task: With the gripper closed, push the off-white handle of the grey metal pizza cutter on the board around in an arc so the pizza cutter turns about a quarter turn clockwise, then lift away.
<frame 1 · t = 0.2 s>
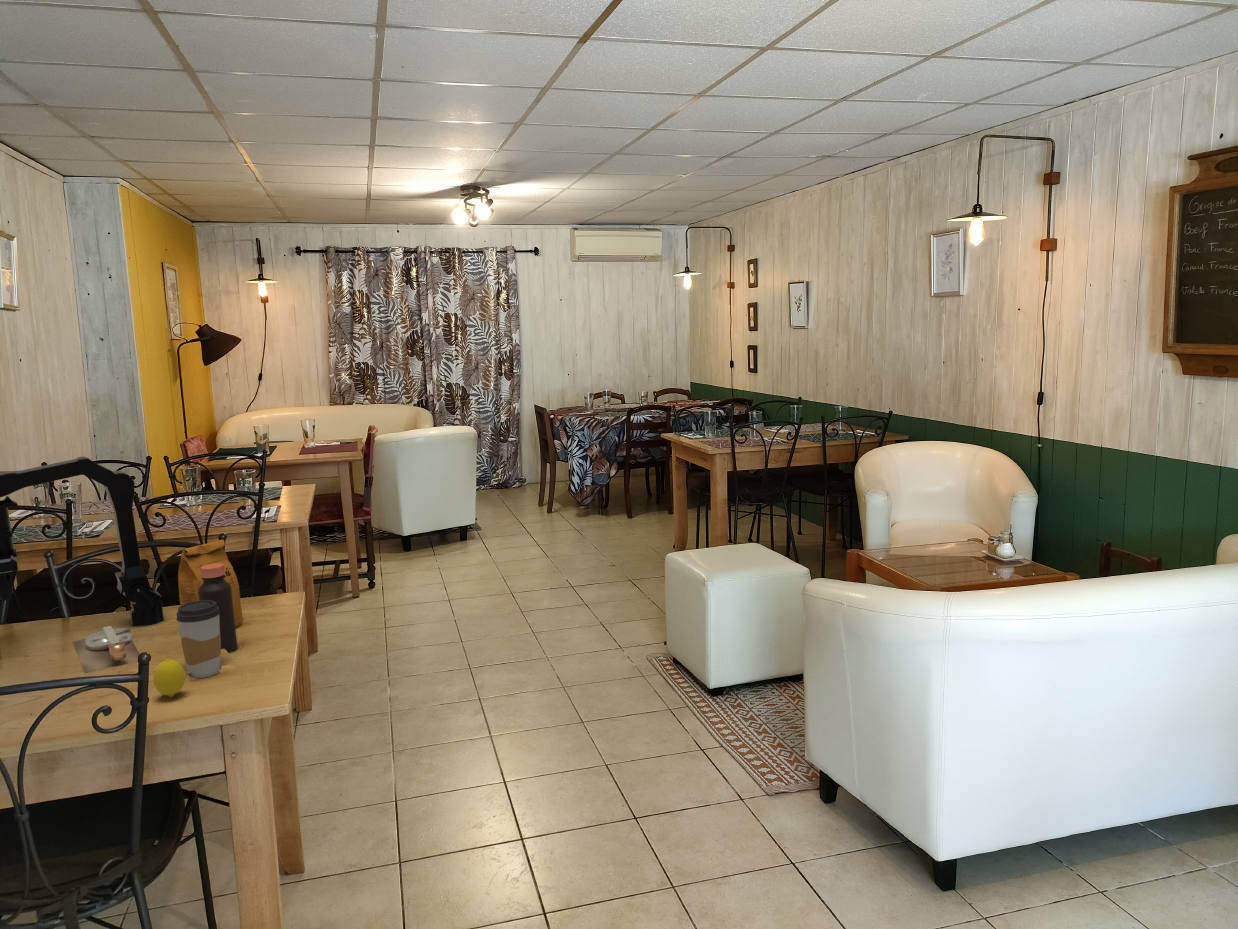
hand: (5, 595, 192), 14 cm above the table, tool pointing down, fingers open, 9 cm apart
mounting board: (107, 656, 192), on the table
coffee package: (214, 631, 208), on the table
coffee cup: (205, 673, 181), on the table
pizza cutter: (111, 642, 191), point 4 cm above the table, hinge at 0.0°
lemon: (171, 697, 169), on the table
bottle: (221, 651, 194), on the table
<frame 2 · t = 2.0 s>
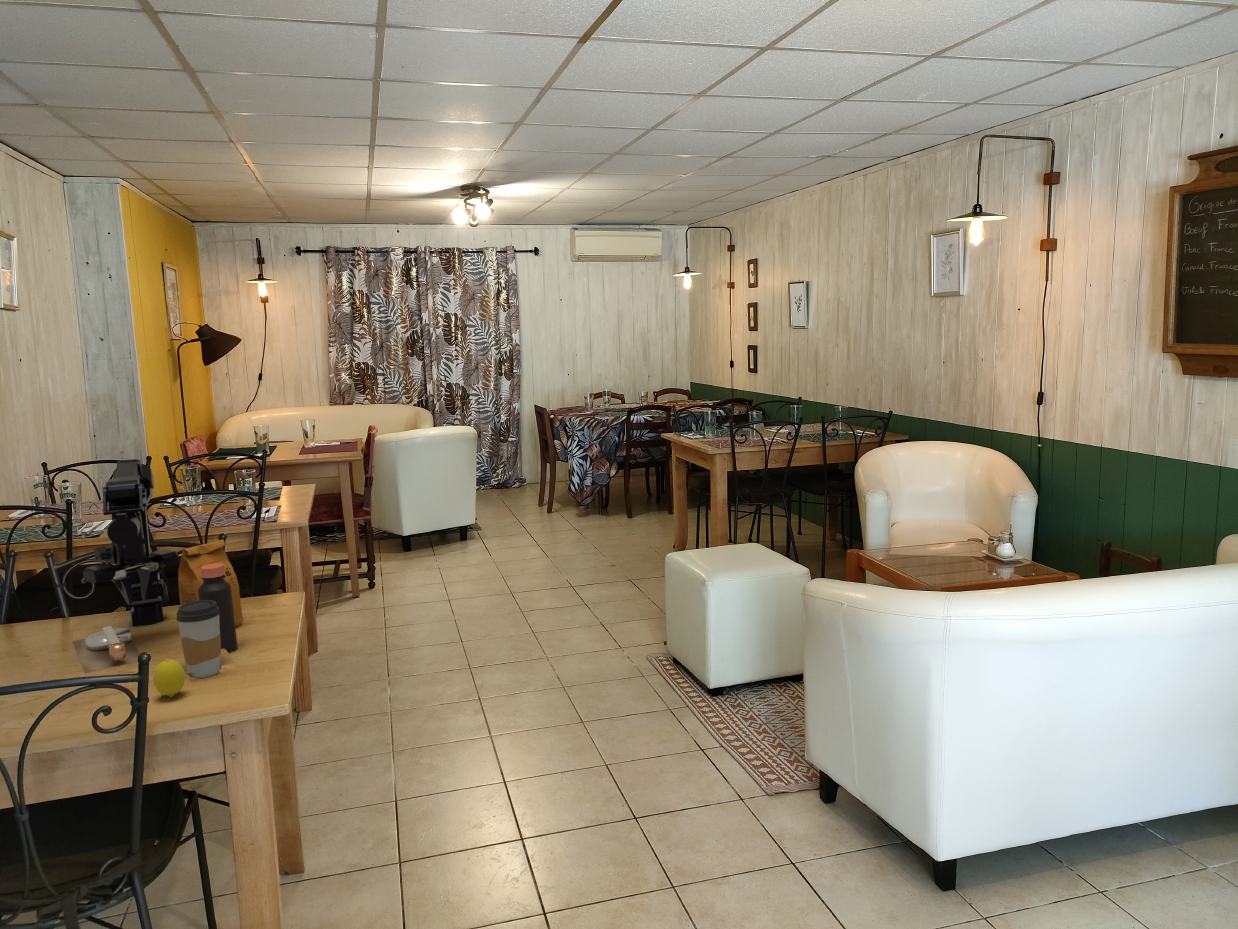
hand: (137, 602, 192), 12 cm above the table, tool pointing down, fingers open, 3 cm apart
nothing on the table moved.
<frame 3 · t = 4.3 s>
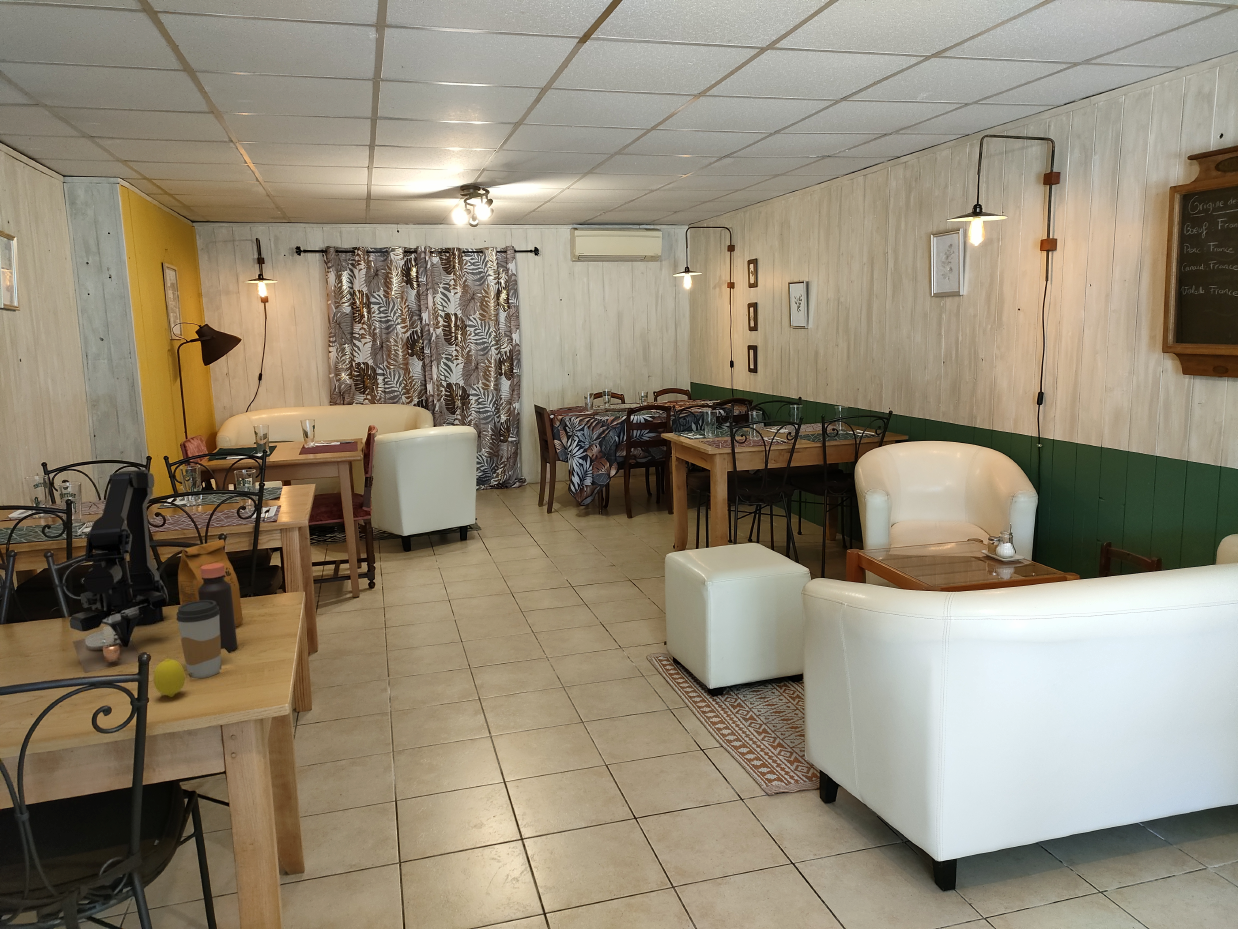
hand: (125, 646, 191), 3 cm above the table, tool pointing down, fingers closed
pizza cutter: (109, 642, 190), point 4 cm above the table, hinge at -4.2°, touching gripper
everything else where it was.
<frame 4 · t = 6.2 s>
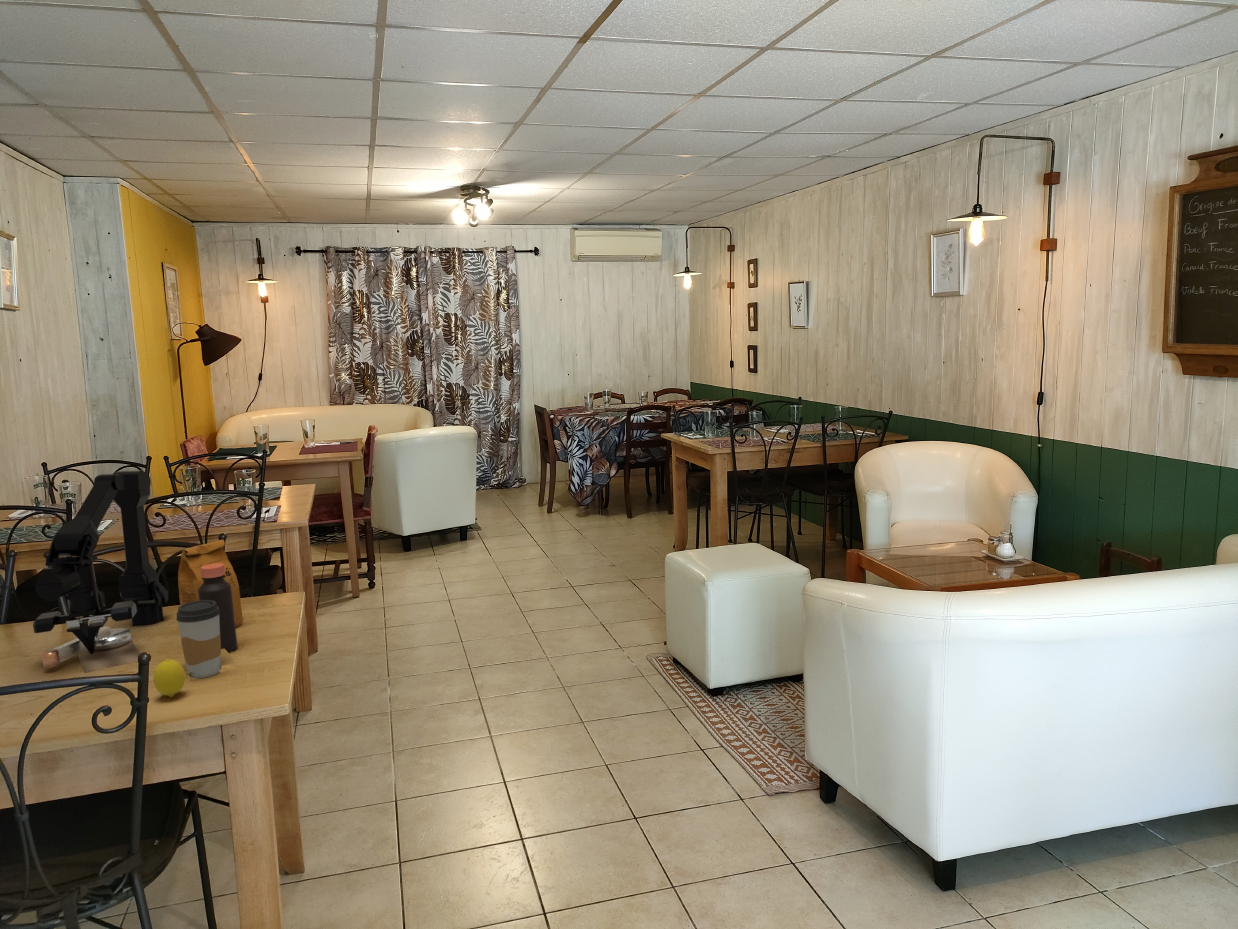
hand: (92, 653, 188), 3 cm above the table, tool pointing down, fingers closed
pizza cutter: (86, 644, 190), point 4 cm above the table, hinge at -49.3°, touching gripper
everything else where it was.
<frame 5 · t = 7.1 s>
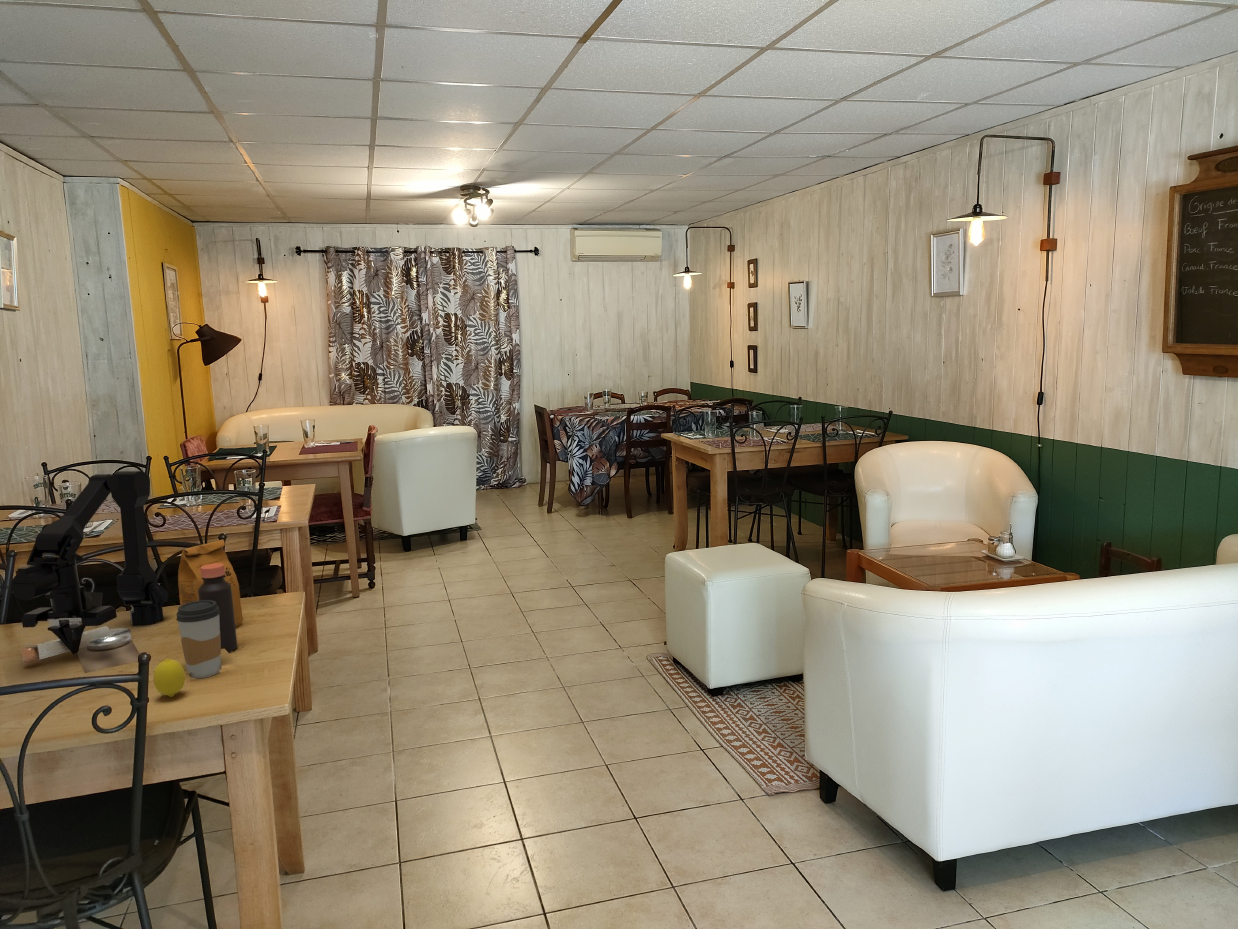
hand: (75, 653, 188), 3 cm above the table, tool pointing down, fingers closed
pizza cutter: (78, 643, 191), point 4 cm above the table, hinge at -74.9°, touching gripper
everything else where it was.
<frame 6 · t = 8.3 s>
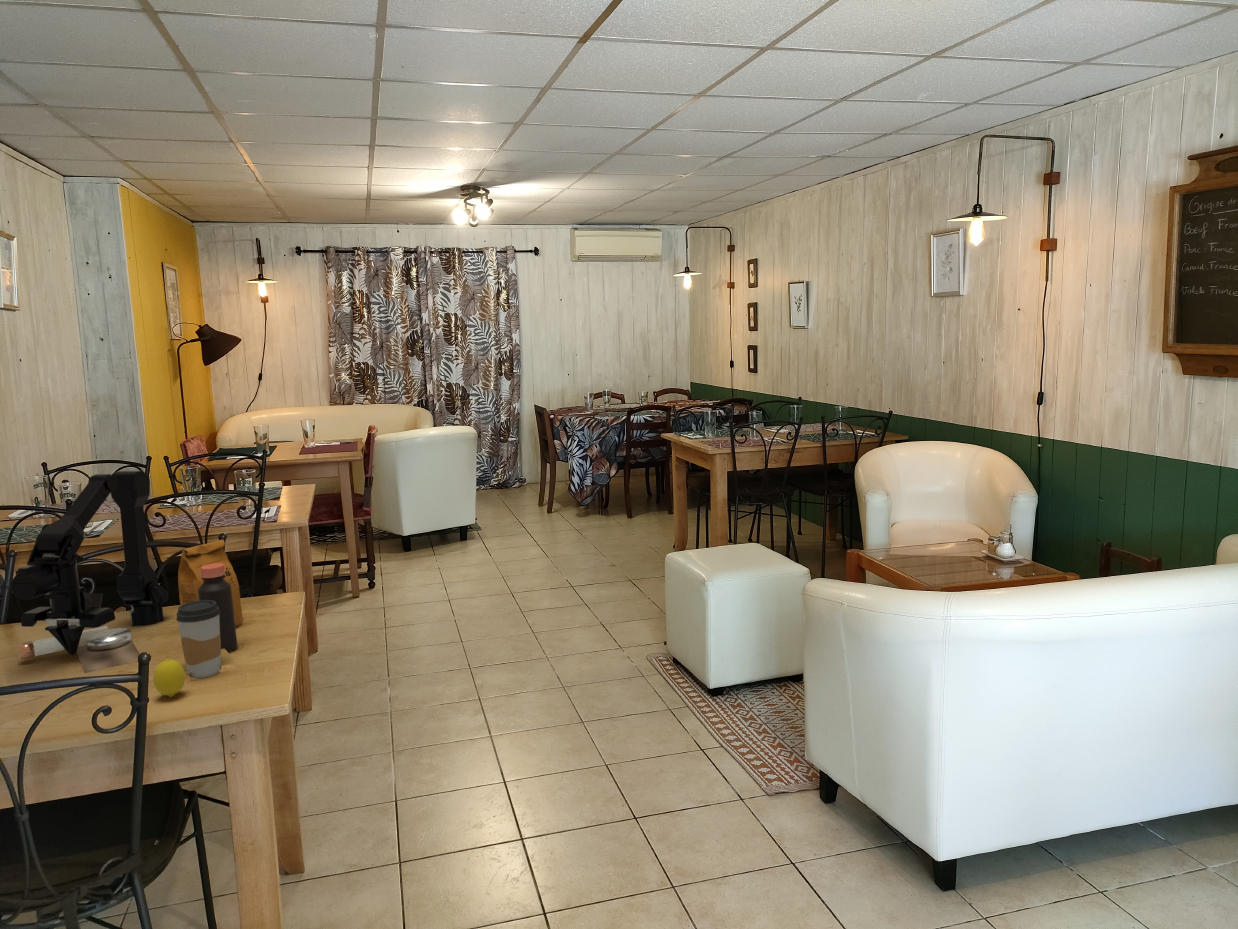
hand: (73, 654, 187), 3 cm above the table, tool pointing down, fingers closed
pizza cutter: (76, 641, 192), point 4 cm above the table, hinge at -88.1°
everything else where it was.
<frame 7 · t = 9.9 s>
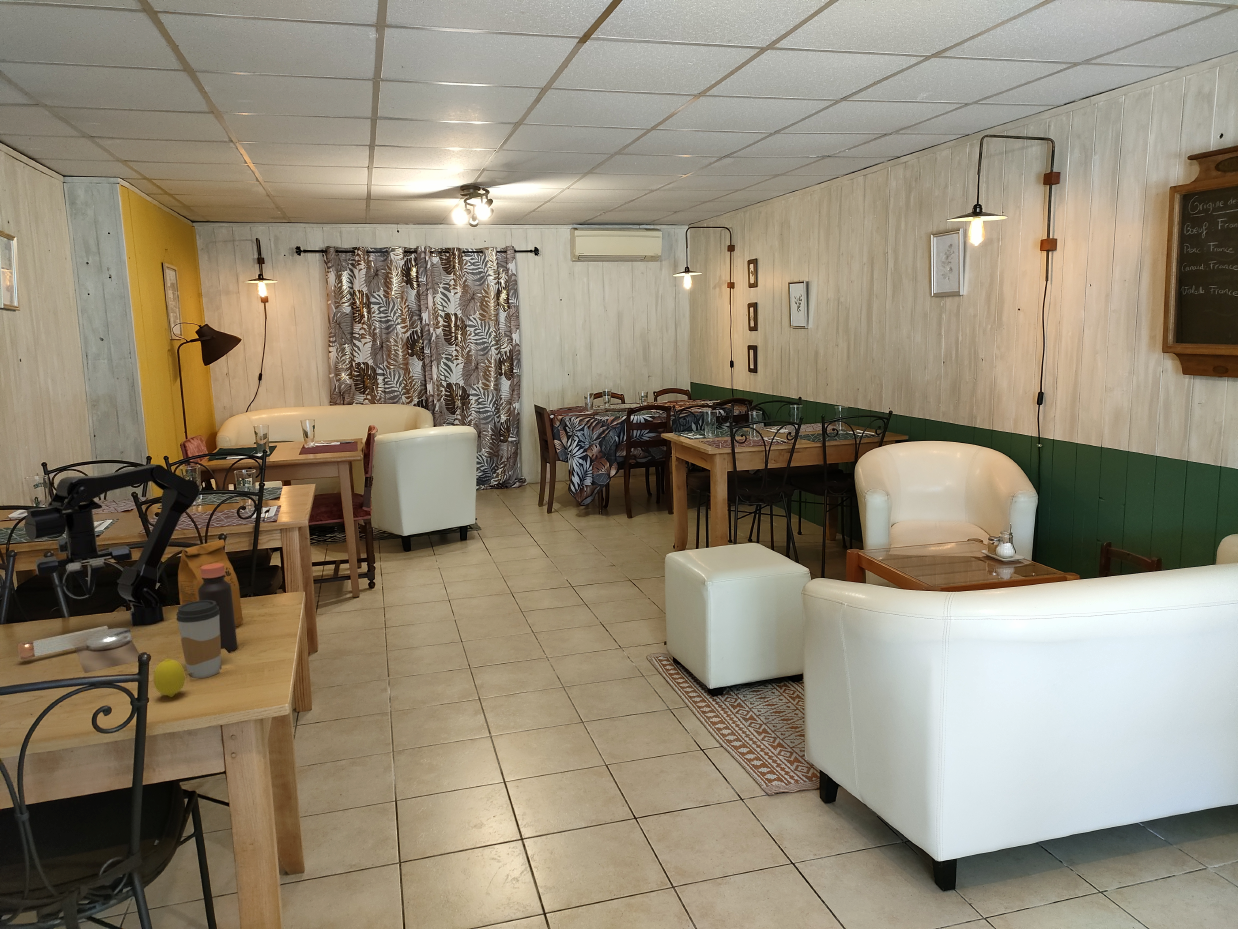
hand: (89, 595, 199), 12 cm above the table, tool pointing down, fingers closed
nothing on the table moved.
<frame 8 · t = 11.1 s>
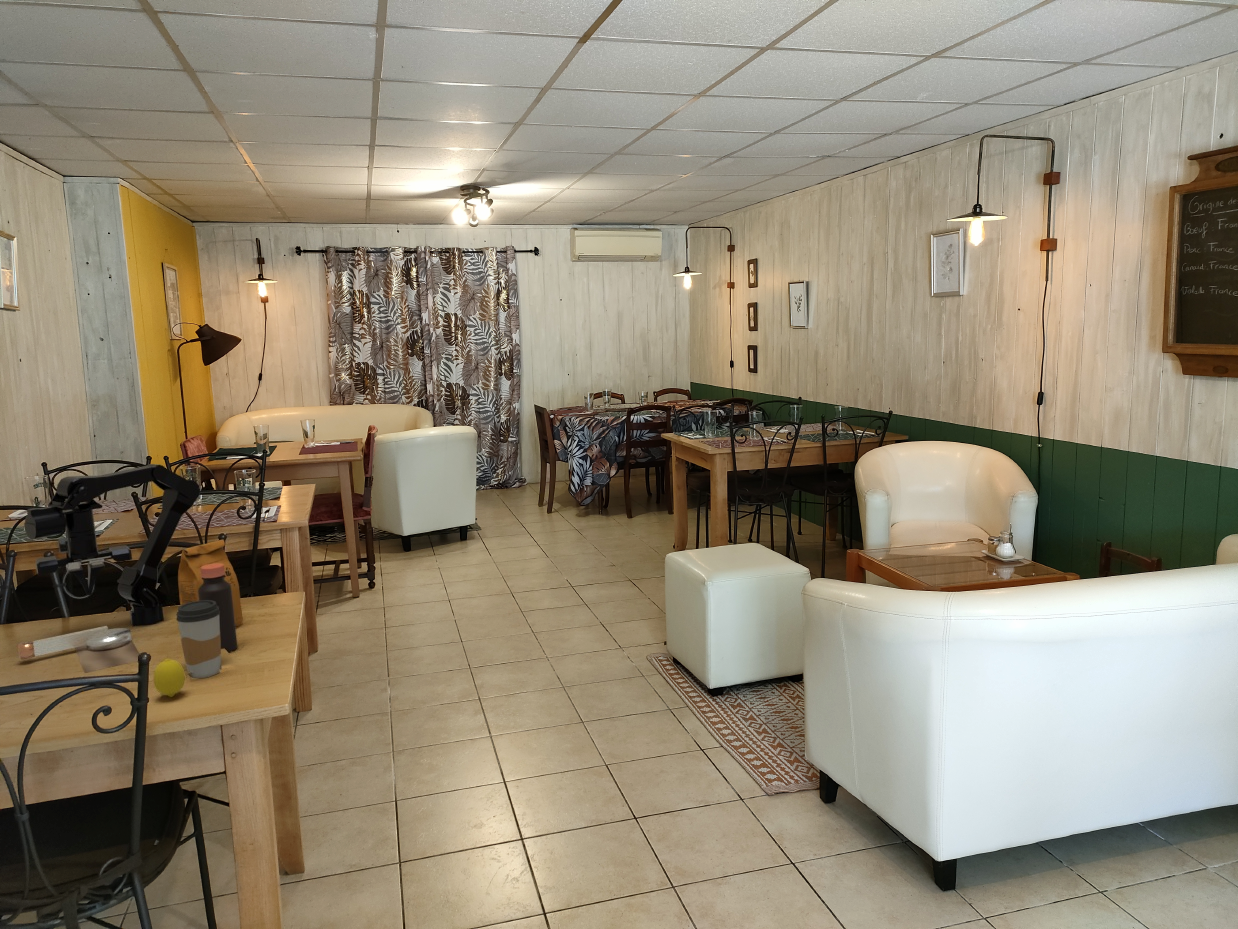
hand: (89, 594, 199), 12 cm above the table, tool pointing down, fingers closed
nothing on the table moved.
at the end: pizza cutter at -88° (first picture: +0°) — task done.
